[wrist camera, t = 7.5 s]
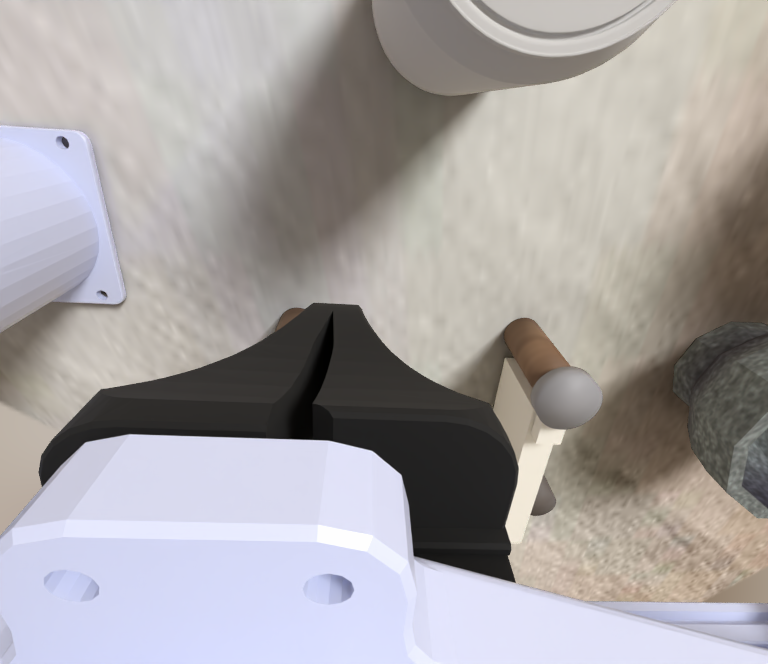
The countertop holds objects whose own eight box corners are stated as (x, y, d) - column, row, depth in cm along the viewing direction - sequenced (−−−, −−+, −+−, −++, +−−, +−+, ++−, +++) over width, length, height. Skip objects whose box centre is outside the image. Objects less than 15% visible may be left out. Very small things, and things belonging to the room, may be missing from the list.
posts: (287, 467, 28) (270, 542, 23) (278, 307, 23) (254, 361, 18) (531, 472, 29) (564, 545, 24) (578, 320, 24) (633, 375, 19)
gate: (503, 312, 23) (545, 375, 18) (554, 315, 23) (611, 378, 18) (467, 479, 29) (490, 566, 23) (508, 480, 29) (540, 566, 23)
